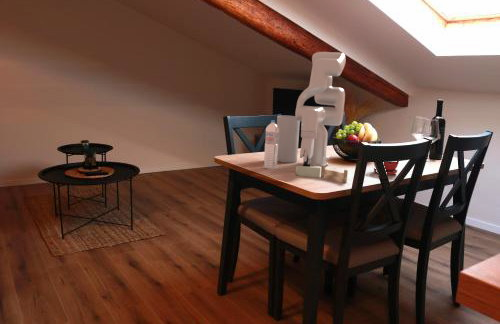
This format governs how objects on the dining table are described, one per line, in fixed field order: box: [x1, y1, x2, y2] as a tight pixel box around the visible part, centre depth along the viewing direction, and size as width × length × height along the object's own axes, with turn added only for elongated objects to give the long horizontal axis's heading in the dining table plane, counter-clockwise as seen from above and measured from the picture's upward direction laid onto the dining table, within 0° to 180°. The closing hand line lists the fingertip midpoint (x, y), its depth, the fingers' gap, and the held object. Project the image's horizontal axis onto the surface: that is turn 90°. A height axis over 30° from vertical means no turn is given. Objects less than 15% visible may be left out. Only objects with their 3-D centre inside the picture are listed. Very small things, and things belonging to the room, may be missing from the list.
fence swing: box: [295, 165, 321, 178], centre depth 200 cm, size 11×2×4 cm, turn 79°
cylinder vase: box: [276, 115, 301, 164], centre depth 235 cm, size 12×12×25 cm
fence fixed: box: [320, 165, 349, 184], centre depth 194 cm, size 14×2×6 cm, turn 47°
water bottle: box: [263, 119, 279, 170], centre depth 213 cm, size 7×7×25 cm
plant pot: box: [373, 160, 400, 176], centre depth 217 cm, size 13×13×12 cm
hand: (306, 171), depth 203 cm, fingers closed
